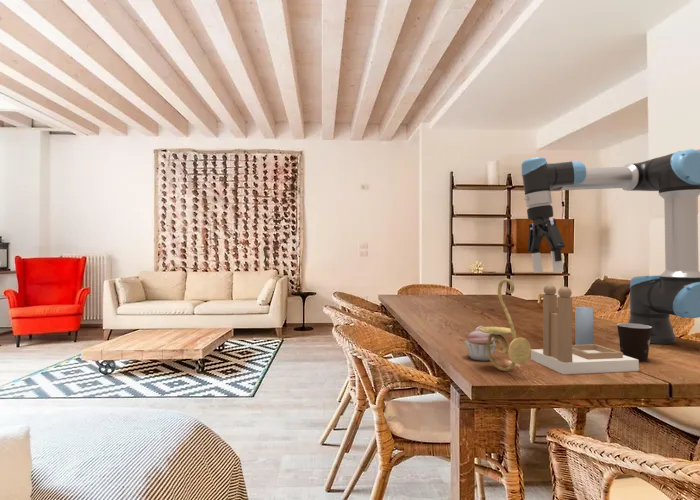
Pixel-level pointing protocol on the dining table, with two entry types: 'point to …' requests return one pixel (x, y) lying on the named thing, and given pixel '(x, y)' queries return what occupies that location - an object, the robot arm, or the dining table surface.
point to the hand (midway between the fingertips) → (548, 272)
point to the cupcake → (479, 345)
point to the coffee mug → (634, 340)
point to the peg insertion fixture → (559, 342)
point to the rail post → (583, 325)
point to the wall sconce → (519, 346)
